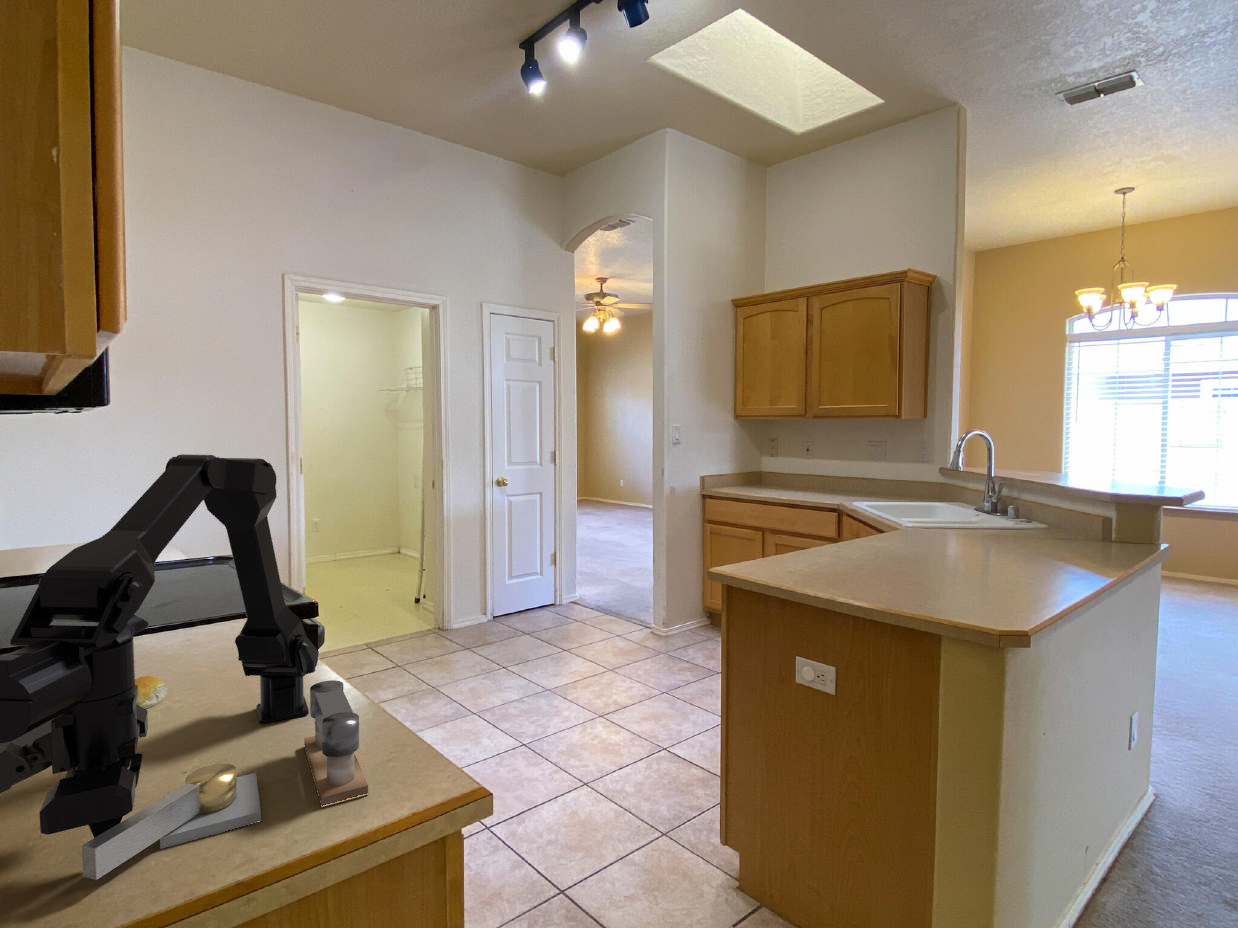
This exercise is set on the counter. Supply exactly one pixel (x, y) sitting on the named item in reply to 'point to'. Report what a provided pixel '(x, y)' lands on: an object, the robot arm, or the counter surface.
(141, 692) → the bread roll
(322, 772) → the peg rack
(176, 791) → the lever switch
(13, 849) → the counter surface
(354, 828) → the counter surface
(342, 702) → the grey knobbed rod
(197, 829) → the plate
